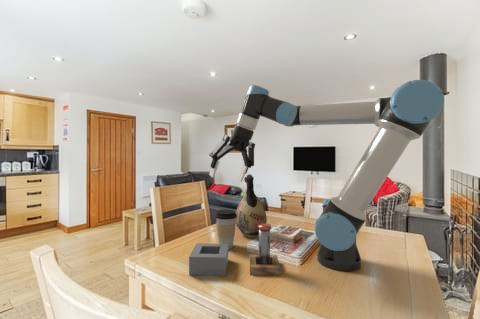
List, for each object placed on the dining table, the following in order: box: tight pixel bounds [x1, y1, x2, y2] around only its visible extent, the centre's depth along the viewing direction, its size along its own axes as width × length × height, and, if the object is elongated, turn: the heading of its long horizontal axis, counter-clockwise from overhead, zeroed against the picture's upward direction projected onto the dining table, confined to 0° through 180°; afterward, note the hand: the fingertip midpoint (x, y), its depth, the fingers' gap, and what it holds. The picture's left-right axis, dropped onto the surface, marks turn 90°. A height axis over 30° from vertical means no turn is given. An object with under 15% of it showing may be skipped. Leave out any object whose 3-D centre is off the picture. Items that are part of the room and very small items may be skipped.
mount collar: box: [249, 254, 282, 276], centre depth 86 cm, size 10×10×2 cm
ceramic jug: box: [235, 173, 268, 238], centre depth 120 cm, size 17×15×30 cm
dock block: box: [188, 242, 229, 277], centre depth 86 cm, size 12×12×6 cm
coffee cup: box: [214, 209, 237, 250], centre depth 105 cm, size 9×9×15 cm
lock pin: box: [257, 223, 272, 265], centre depth 86 cm, size 5×5×15 cm
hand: (226, 178), depth 96 cm, fingers open, 13 cm apart
